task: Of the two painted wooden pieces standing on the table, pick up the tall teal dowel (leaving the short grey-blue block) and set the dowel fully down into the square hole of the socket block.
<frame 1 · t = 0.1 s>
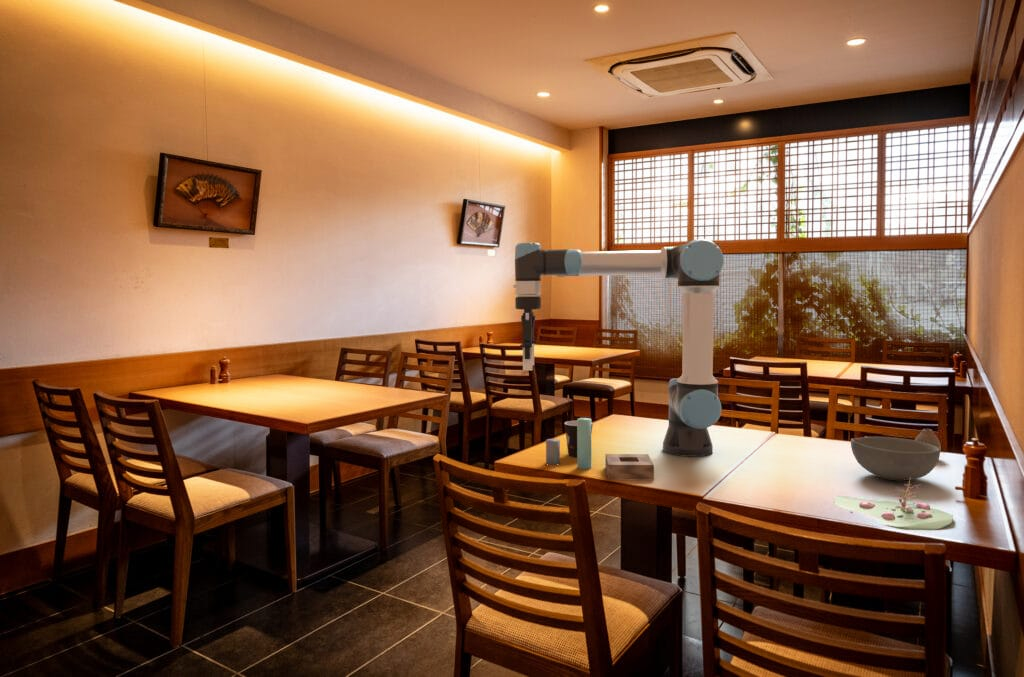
hand: (528, 367, 200), 28 cm above the table, fingers open, 13 cm apart
coffee mug: (579, 454, 209), on the table
bowl: (893, 479, 178), on the table
socket block: (628, 473, 186), on the table
teal dowel: (584, 467, 193), on the table
vase: (926, 459, 199), on the table
grey-blue block: (553, 463, 197), on the table
plant: (888, 514, 152), on the table
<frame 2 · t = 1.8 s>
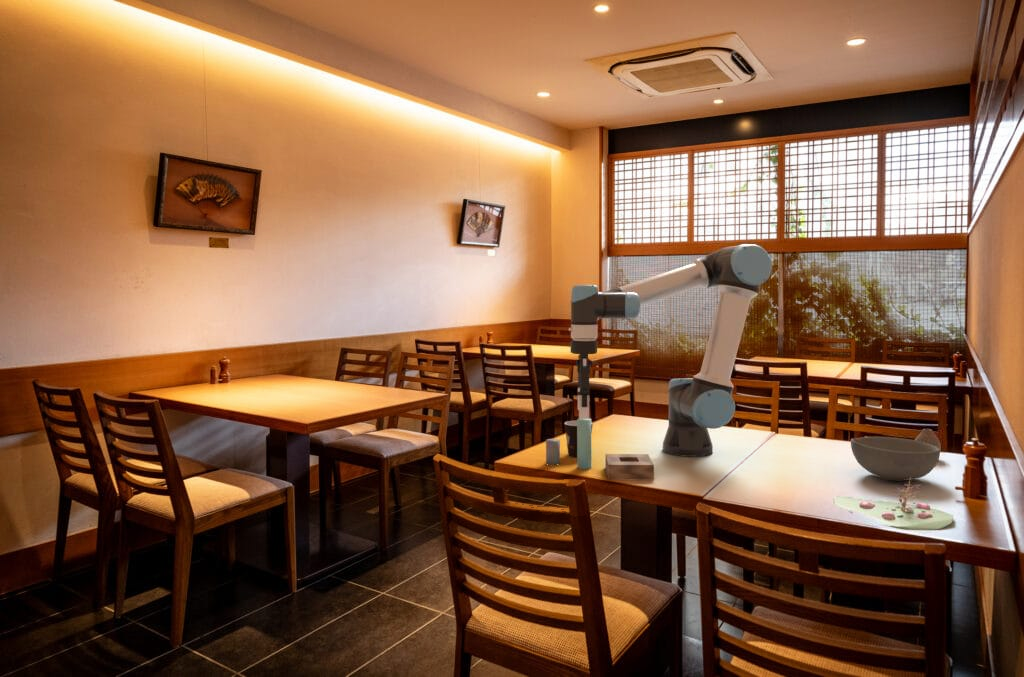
hand: (583, 414, 192), 15 cm above the table, fingers open, 13 cm apart
nothing on the table moved.
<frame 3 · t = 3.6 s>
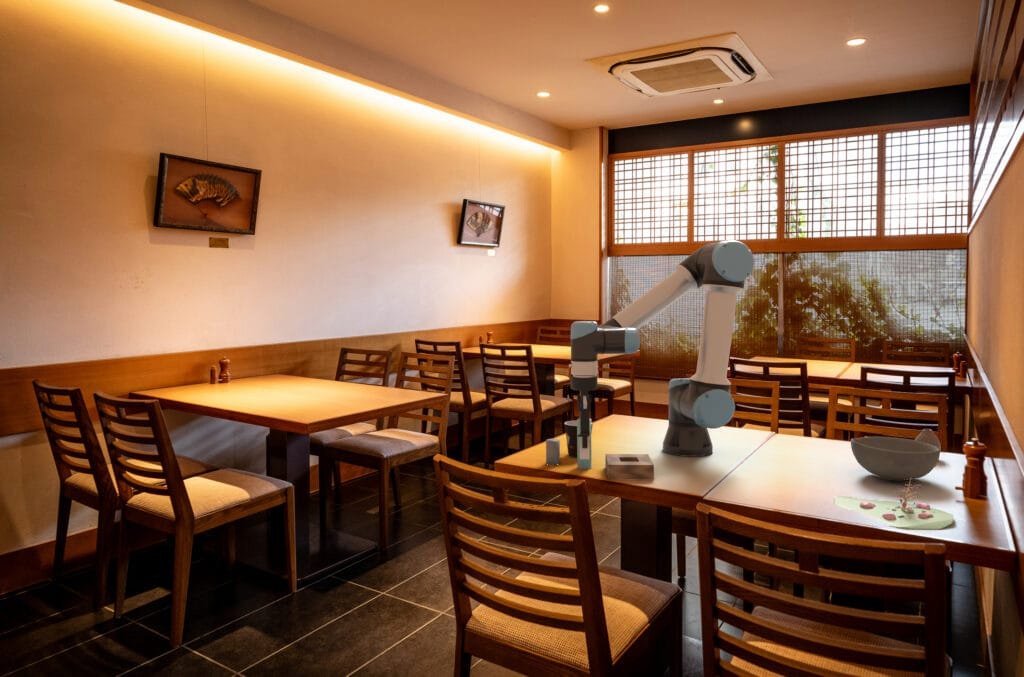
hand: (584, 456, 193), 3 cm above the table, fingers closed on teal dowel, 4 cm apart
teal dowel: (584, 467, 193), on the table, touching gripper
everything else where it was.
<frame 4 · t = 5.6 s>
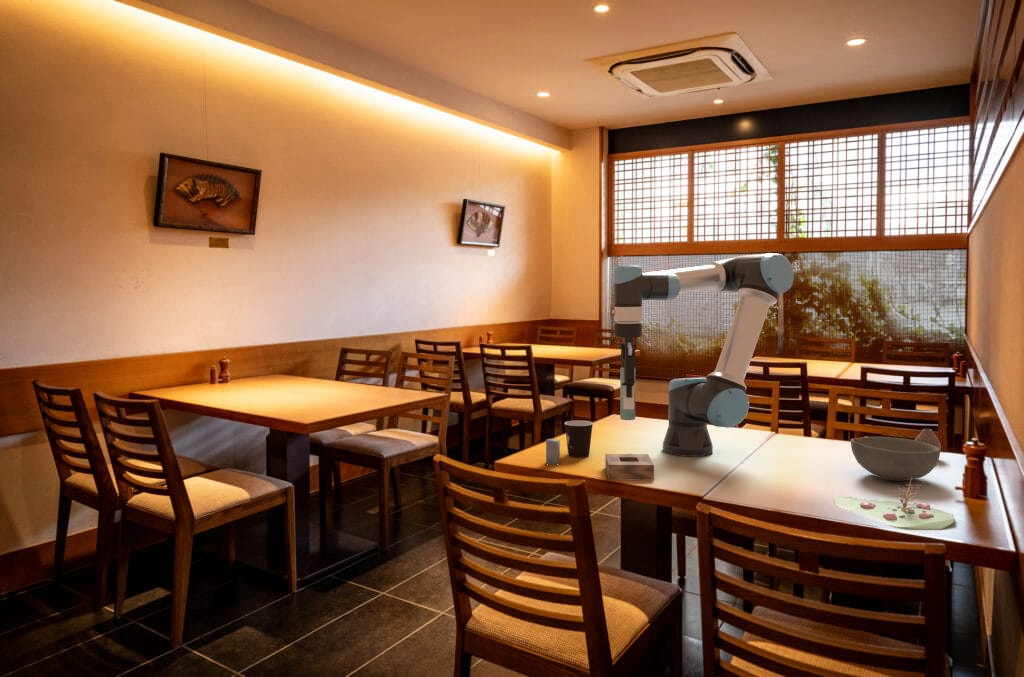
hand: (627, 407, 185), 18 cm above the table, fingers closed on teal dowel, 4 cm apart
teal dowel: (627, 418, 185), point 15 cm above the table, touching gripper
everything else where it was.
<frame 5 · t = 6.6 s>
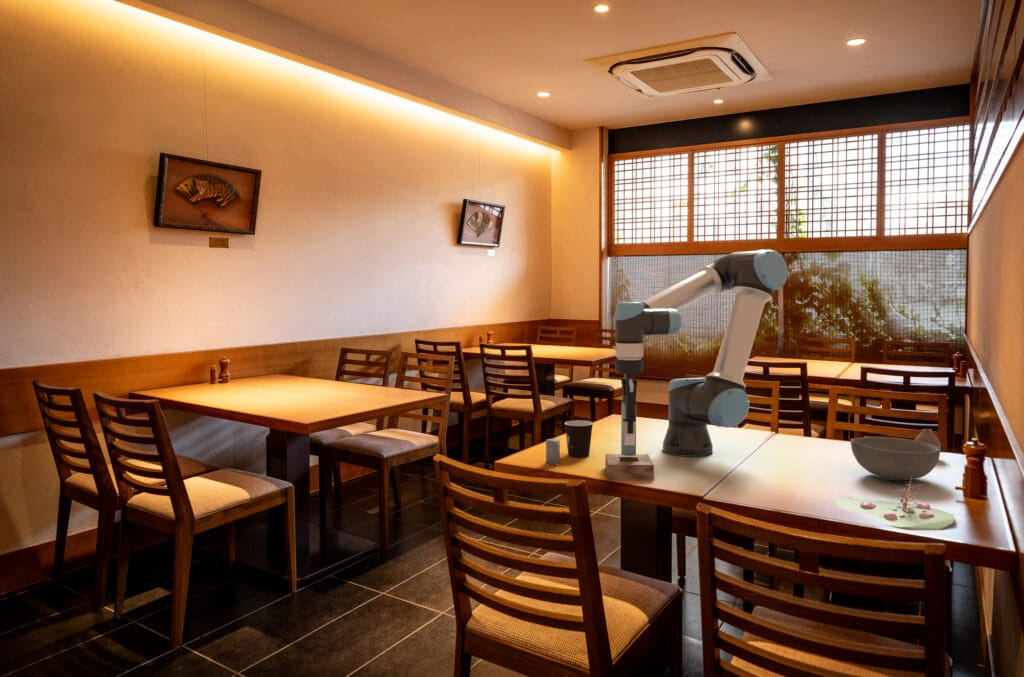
hand: (628, 442, 185), 9 cm above the table, fingers closed on teal dowel, 4 cm apart
teal dowel: (628, 454, 186), point 5 cm above the table, touching gripper
everything else where it was.
when the fingers open (5 cm above the table, at t = 7.5 s): teal dowel drops 1 cm, resting in socket block.
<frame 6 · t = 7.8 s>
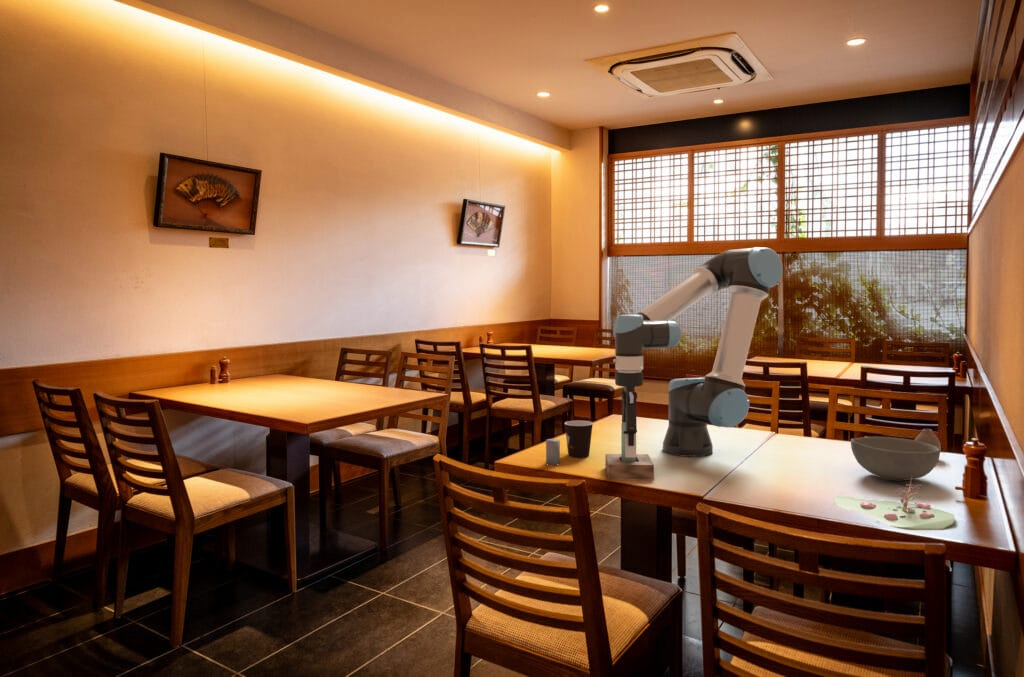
hand: (628, 453, 186), 6 cm above the table, fingers open, 8 cm apart
teal dowel: (628, 473, 186), resting in socket block
everything else where it was.
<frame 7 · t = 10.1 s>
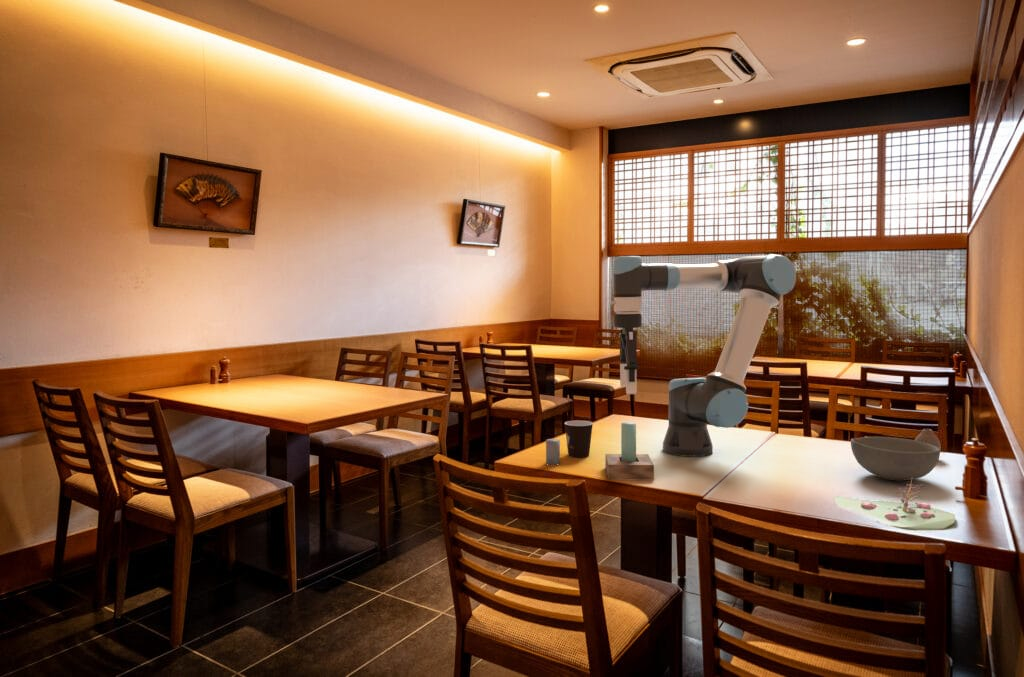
hand: (628, 390, 186), 23 cm above the table, fingers open, 13 cm apart
nothing on the table moved.
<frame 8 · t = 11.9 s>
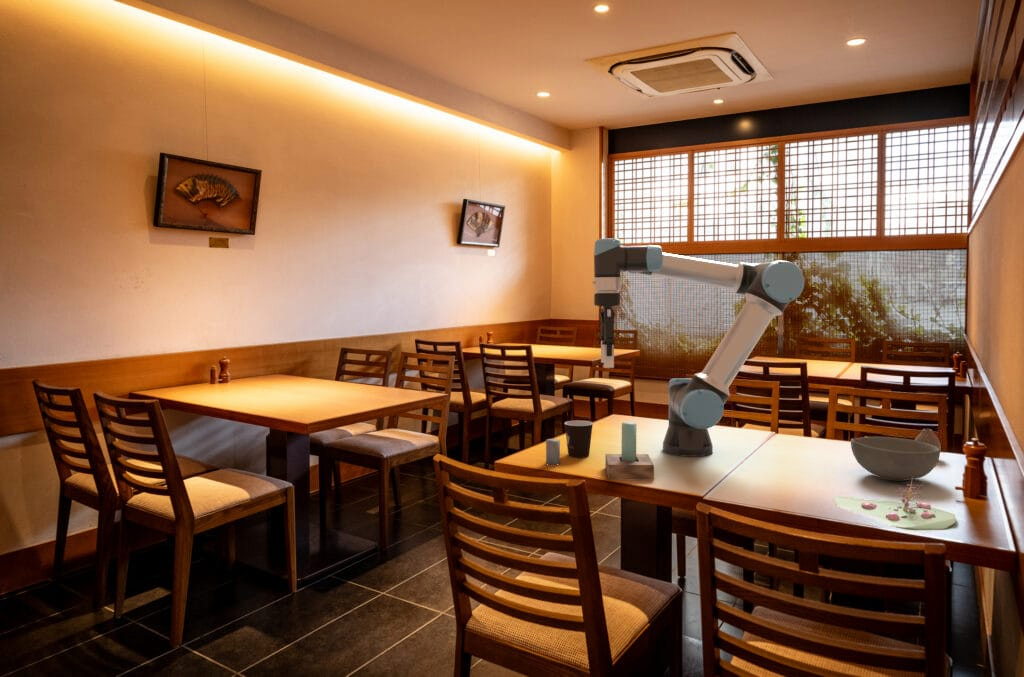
hand: (607, 365, 197), 29 cm above the table, fingers open, 13 cm apart
nothing on the table moved.
at the end: teal dowel 0.0 cm off-centre on the socket block, point 0.0 cm above the socket block's base; teal dowel tilted 0°; the gripper is holding nothing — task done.
